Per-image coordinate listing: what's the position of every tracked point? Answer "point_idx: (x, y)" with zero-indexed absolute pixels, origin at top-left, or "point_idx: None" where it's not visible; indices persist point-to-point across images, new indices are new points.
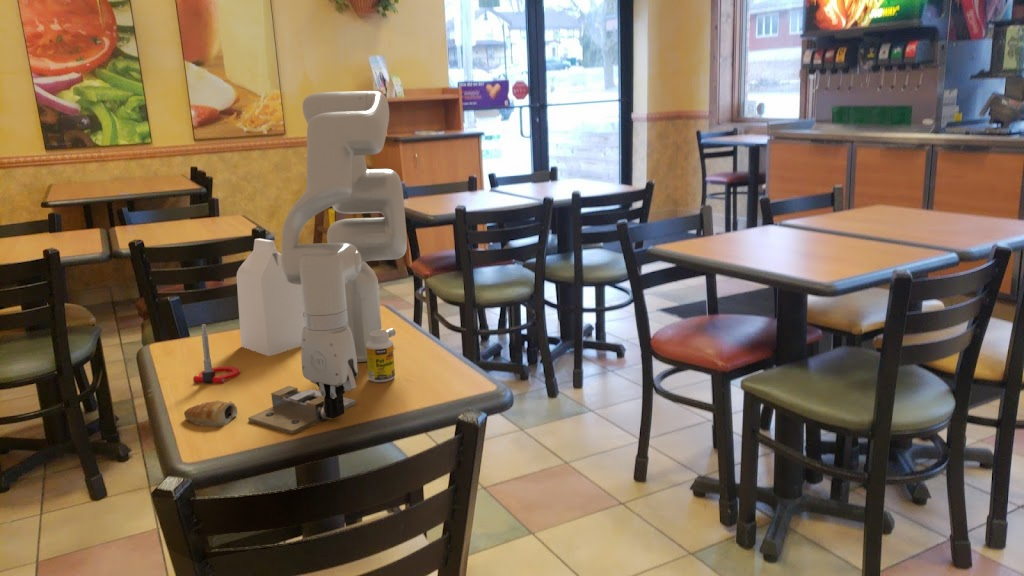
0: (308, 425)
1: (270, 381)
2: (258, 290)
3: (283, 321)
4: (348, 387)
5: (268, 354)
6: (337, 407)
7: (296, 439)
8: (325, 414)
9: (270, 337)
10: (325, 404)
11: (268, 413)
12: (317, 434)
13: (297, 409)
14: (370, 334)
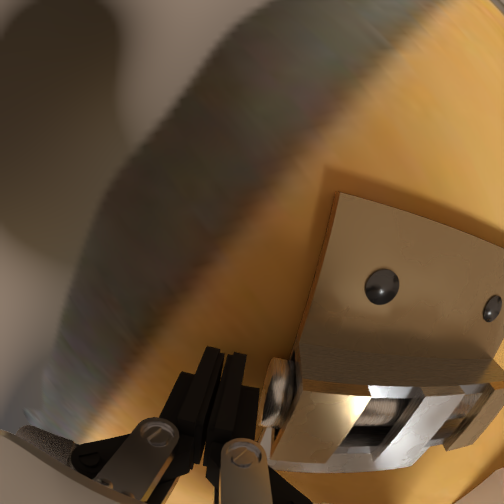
0: (312, 289)
1: (497, 437)
2: None
3: None
4: (36, 442)
5: (497, 471)
6: (172, 389)
7: (287, 152)
8: (270, 375)
9: (499, 491)
10: (234, 398)
11: (496, 312)
12: (223, 231)
13: (412, 367)
14: None
